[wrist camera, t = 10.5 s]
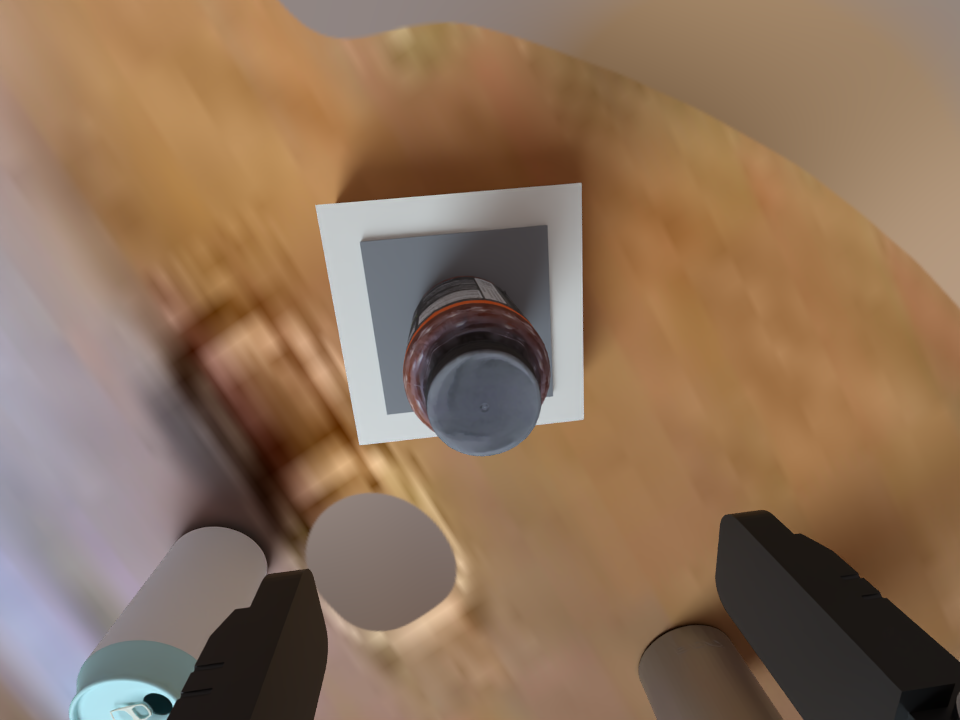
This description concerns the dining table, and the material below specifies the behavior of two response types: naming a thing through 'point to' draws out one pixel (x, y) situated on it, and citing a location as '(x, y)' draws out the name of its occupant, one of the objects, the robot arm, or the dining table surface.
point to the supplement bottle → (475, 367)
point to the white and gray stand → (442, 255)
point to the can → (168, 626)
